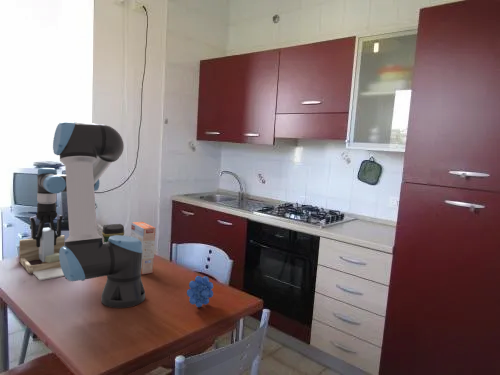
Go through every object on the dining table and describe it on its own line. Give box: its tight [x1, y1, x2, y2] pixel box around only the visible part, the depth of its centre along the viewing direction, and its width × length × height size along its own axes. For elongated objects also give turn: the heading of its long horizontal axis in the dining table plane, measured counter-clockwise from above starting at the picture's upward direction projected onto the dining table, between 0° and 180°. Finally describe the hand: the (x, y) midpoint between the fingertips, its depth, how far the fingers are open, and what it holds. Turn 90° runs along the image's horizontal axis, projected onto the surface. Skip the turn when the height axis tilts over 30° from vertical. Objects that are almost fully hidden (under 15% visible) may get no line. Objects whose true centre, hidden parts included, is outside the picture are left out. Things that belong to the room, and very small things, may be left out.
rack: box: [18, 234, 66, 274], centre depth 160 cm, size 18×18×10 cm
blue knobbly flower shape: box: [186, 275, 214, 308], centre depth 128 cm, size 12×7×12 cm, turn 134°
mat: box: [32, 267, 65, 281], centre depth 149 cm, size 10×12×1 cm
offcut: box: [45, 253, 60, 263], centre depth 157 cm, size 3×6×2 cm, turn 156°
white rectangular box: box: [39, 226, 54, 263], centre depth 162 cm, size 8×4×14 cm, turn 44°
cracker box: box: [130, 221, 156, 276], centre depth 162 cm, size 14×6×21 cm, turn 39°
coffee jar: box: [101, 223, 125, 242], centre depth 167 cm, size 10×8×19 cm
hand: (46, 252), depth 162 cm, fingers closed on white rectangular box, 4 cm apart
